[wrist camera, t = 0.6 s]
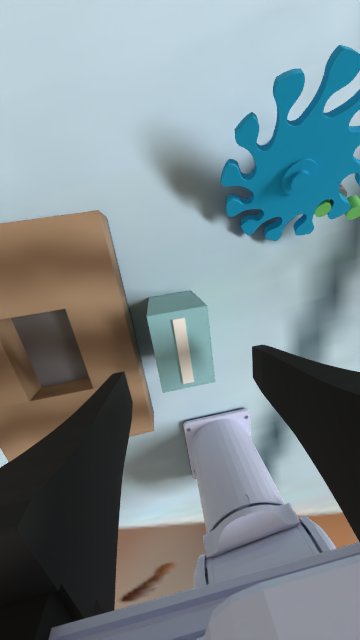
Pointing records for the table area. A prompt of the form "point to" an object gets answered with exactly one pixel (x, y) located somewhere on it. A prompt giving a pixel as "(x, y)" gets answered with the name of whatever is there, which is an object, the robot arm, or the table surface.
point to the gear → (300, 155)
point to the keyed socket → (62, 326)
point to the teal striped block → (181, 340)
